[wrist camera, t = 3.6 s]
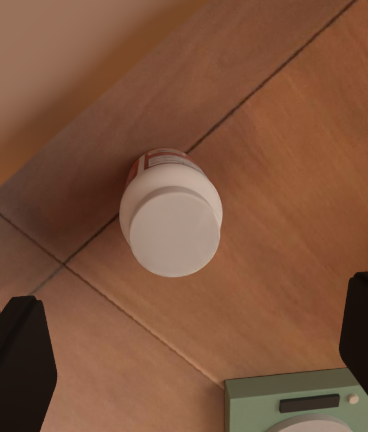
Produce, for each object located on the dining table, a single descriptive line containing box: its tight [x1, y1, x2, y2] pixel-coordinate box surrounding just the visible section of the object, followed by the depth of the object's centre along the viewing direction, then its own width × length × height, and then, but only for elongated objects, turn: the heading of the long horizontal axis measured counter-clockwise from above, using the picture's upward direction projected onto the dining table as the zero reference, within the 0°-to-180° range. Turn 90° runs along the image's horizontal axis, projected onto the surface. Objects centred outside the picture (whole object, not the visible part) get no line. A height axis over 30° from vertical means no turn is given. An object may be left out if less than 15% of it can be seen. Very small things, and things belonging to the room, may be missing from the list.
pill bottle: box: [119, 148, 222, 277], centre depth 22 cm, size 6×6×11 cm
